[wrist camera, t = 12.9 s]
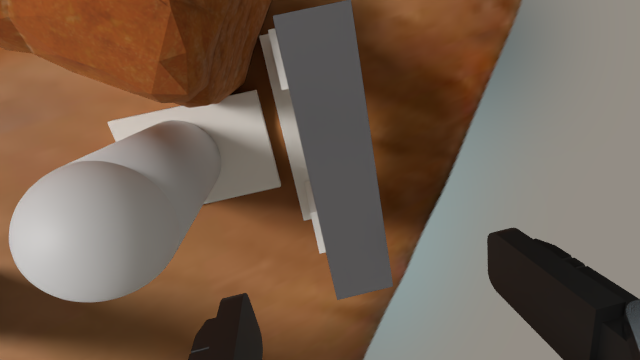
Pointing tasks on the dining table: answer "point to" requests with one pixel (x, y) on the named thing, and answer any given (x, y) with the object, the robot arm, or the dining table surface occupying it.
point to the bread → (142, 43)
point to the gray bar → (336, 142)
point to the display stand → (152, 191)
